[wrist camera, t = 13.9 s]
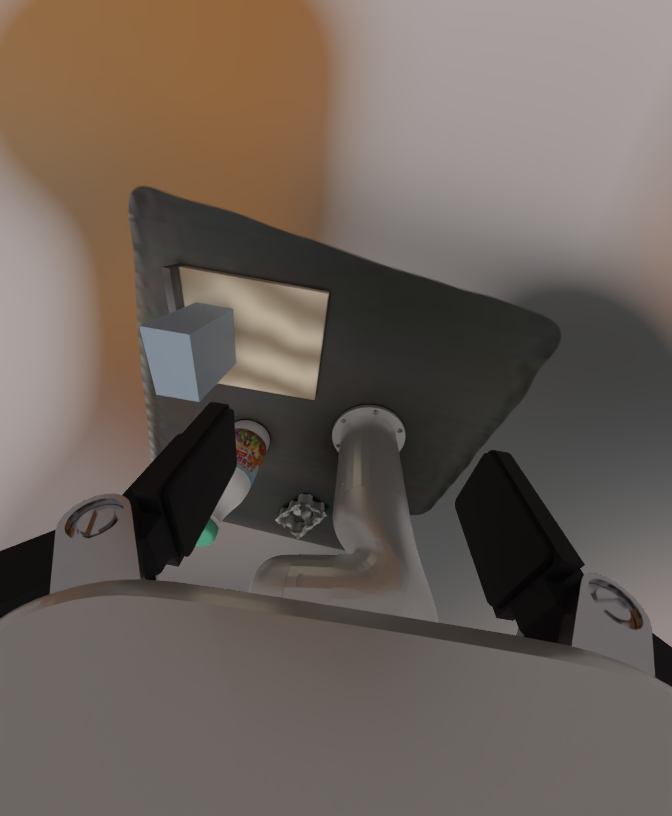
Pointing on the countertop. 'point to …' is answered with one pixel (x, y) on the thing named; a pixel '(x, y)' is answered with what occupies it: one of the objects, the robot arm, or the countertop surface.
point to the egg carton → (302, 515)
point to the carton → (190, 350)
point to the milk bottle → (239, 474)
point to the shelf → (260, 326)
